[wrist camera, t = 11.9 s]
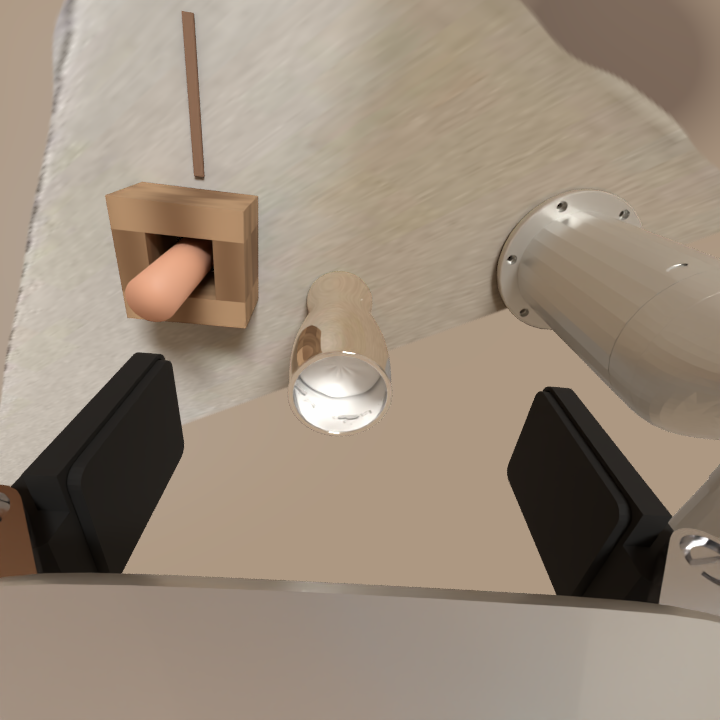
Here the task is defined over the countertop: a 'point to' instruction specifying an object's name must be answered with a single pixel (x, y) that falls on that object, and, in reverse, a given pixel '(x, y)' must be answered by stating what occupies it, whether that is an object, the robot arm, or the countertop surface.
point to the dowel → (170, 279)
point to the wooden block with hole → (195, 220)
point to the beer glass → (339, 360)
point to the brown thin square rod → (193, 91)
